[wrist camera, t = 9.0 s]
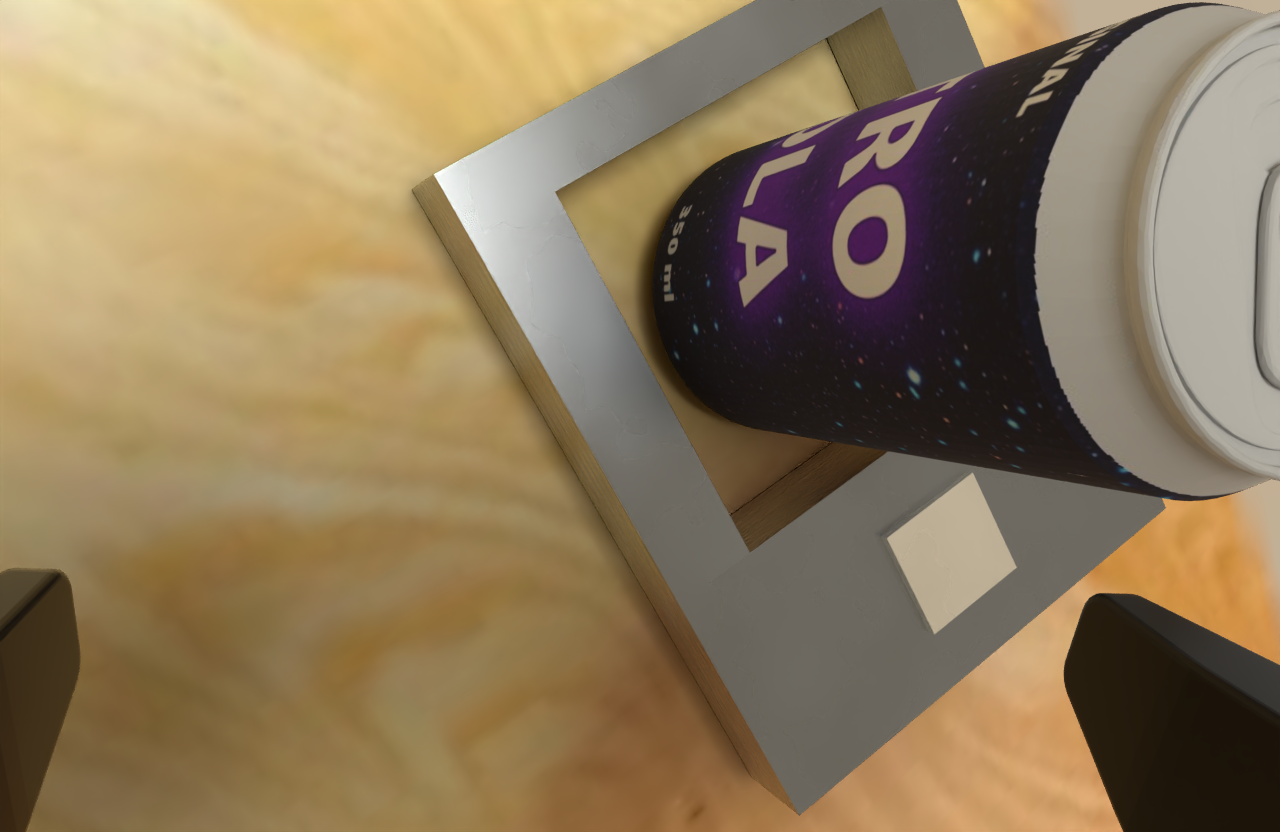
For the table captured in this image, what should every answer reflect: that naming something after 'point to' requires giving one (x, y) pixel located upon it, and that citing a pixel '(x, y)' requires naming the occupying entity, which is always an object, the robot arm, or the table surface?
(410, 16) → the table surface
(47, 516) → the table surface
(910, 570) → the grey flat frame
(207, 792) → the table surface
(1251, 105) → the beverage can
